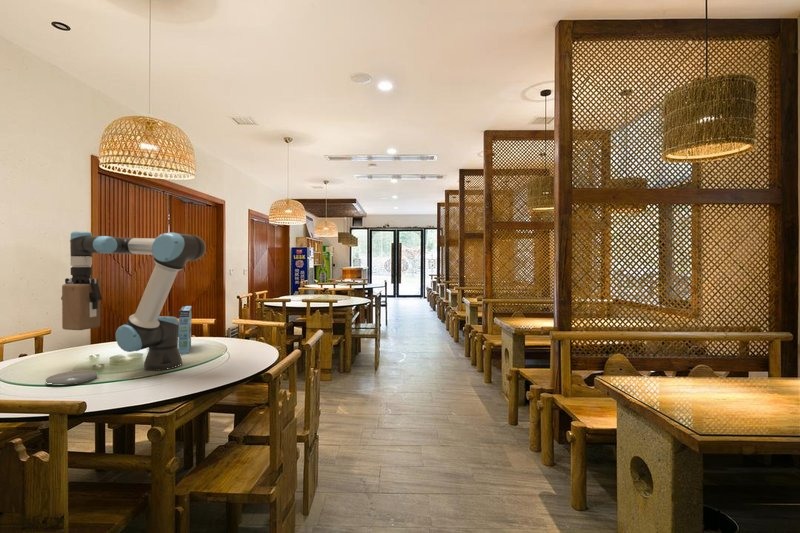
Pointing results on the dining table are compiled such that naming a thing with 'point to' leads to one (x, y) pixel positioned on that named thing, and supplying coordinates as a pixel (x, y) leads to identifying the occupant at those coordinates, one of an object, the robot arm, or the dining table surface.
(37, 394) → the dining table surface
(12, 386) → the dining table surface
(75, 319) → the wooden block
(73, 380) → the charcoal plate
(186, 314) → the gum box
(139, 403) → the dining table surface
